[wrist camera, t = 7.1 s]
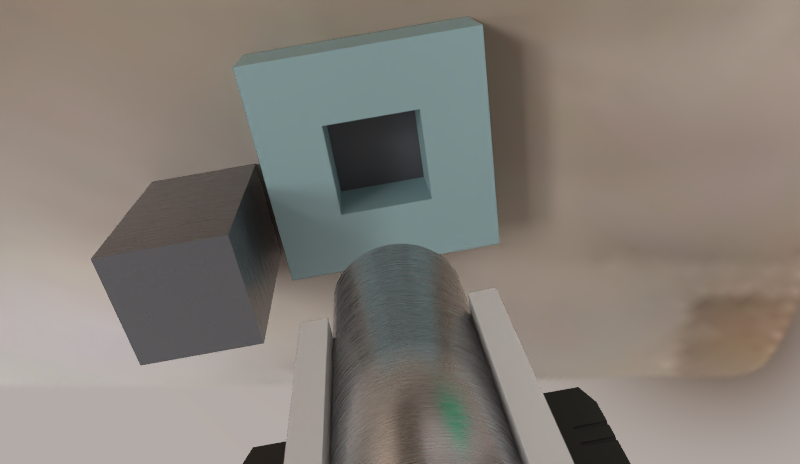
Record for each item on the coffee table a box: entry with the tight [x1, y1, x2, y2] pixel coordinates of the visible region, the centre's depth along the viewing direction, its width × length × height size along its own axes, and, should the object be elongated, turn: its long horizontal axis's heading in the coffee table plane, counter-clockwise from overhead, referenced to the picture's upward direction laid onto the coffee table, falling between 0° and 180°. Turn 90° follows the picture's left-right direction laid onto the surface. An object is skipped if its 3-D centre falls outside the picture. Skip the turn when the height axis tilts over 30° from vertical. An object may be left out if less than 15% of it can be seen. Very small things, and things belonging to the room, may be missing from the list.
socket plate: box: [233, 17, 500, 280], centre depth 31 cm, size 12×12×4 cm
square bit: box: [91, 164, 281, 365], centre depth 30 cm, size 6×6×9 cm
